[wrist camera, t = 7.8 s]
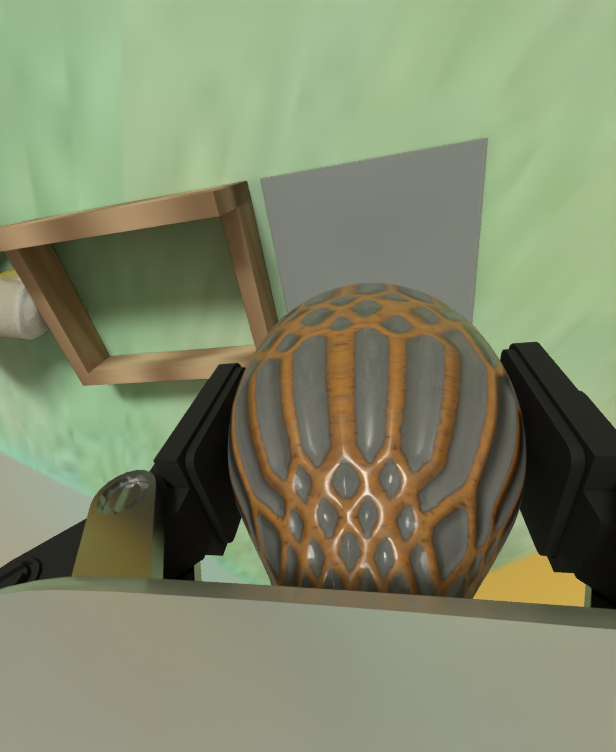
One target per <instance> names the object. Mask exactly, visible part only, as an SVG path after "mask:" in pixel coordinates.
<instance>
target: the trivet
mask: <svg viewBox="0 0 616 752" xmlns="http://www.w3.org/2000/svg"><path fill="white" fill-rule="evenodd" d="M487 143H488V138H481V139H476V140H470V141H465V142H459V143H453V144H448V145H442V146H437V147H431V148H426V149H420V150H415V151H409V152H404V153H398V154H393V155H387V156H382V157H376V158H371V159H365V160H360V161H354V162H349V163H343V164H338V165H332V166H326V167H321V168H315V169H310V170H304V171H299V172H293V173H288V174H282V175H277V176H271V177H266V178H262V179H260V181H261V186H262V190H263V195H264V200H265V205H266V210H267V215H268V220H269V225H270V230H271V235H272V240H273V244H274V249H275V254H276V259H277V264H278V269H279V274H280V279H281V284H282V289H283V294H284V298H285V303H286V308H287V313H289V312H291V311H292V310H293V309H295V308H296V307H297V306H299V305H300V304H302V303H303V302H305V301H307V300H309V299H310V298H312V297H314V296H316V295H319V294H321V293H323V292H326V291H329V290H332V289H335V288H338V287H343V286H347V285H352V284H360V283H386V284H394V285H399V286H404V287H408V288H411V289H415V290H418V291H420V292H423V293H426V294H428V295H430V296H432V297H434V298H436V299H438V300H440V301H442V302H443V303H445V304H446V305H448V306H450V307H451V308H453V309H454V310H456V311H457V312H458V313H460V314H461V315H462V316H463V317H465V318H466V319H467V320H468V321H469V322H470V323H471V324H472V318H473V306H474V295H475V283H476V271H477V260H478V248H479V236H480V225H481V213H482V201H483V190H484V178H485V166H486V155H487Z"/></svg>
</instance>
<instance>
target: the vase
mask: <svg viewBox="0 0 616 752" xmlns="http://www.w3.org/2000/svg"><path fill="white" fill-rule="evenodd" d="M228 465H229V474H230V481H231V486H232V490H233V494H234V497H235V501H236V504H237V507H238V509H239V512H240V514H241V517H242V519H243V522H244V524H245V526H246V529H247V531H248V533H249V535H250V538H251V540H252V542H253V544H254V546H255V549H256V551H257V553H258V555H259V557H260V559H261V561H262V563H263V565H264V567H265V570H266V572H267V574H268V576H269V579H270V581H271V585H272V586H285V587H300V588H316V589H331V590H347V591H362V592H377V593H392V594H407V595H422V596H436V597H450V598H465V599H473V597H474V595H475V594H476V592H477V590H478V588H479V587H480V585H481V583H482V582H483V580H484V578H485V577H486V575H487V573H488V572H489V570H490V568H491V566H492V565H493V563H494V561H495V559H496V558H497V556H498V554H499V552H500V550H501V549H502V547H503V545H504V543H505V541H506V539H507V537H508V535H509V533H510V531H511V529H512V527H513V525H514V523H515V520H516V517H517V515H518V512H519V509H520V506H521V502H522V498H523V492H524V486H525V479H526V440H525V432H524V425H523V419H522V413H521V409H520V406H519V402H518V399H517V395H516V392H515V390H514V387H513V385H512V382H511V380H510V378H509V376H508V374H507V372H506V370H505V369H504V367H503V365H502V363H501V361H500V360H499V358H498V357H497V355H496V354H495V352H494V351H493V349H492V348H491V346H490V345H489V343H488V342H487V341H486V340H485V339H484V337H483V336H482V335H481V334H480V333H479V332H478V330H477V329H476V328H475V327H474V326H473V325H472V324H471V323H470V322H469V321H468V320H467V319H466V318H465V317H463V316H462V315H461V314H460V313H458V312H457V311H456V310H454V309H453V308H451V307H450V306H448V305H446V304H445V303H443V302H442V301H440V300H438V299H436V298H434V297H432V296H430V295H428V294H426V293H423V292H420V291H418V290H415V289H411V288H408V287H404V286H399V285H394V284H386V283H360V284H352V285H347V286H343V287H338V288H335V289H332V290H329V291H326V292H323V293H321V294H319V295H316V296H314V297H312V298H310V299H309V300H307V301H305V302H303V303H302V304H300V305H299V306H297V307H296V308H295V309H293V310H292V311H291V312H289V313H288V314H287V315H285V316H284V317H283V318H282V319H281V320H280V321H279V322H278V323H277V324H276V325H275V326H274V327H273V328H272V329H271V330H270V332H269V333H268V334H267V335H266V337H265V338H264V339H263V341H262V342H261V343H260V345H259V346H258V348H257V349H256V351H255V353H254V354H253V356H252V358H251V359H250V361H249V363H248V365H247V367H246V369H245V371H244V373H243V375H242V377H241V380H240V382H239V385H238V388H237V391H236V394H235V398H234V402H233V406H232V411H231V417H230V424H229V435H228Z"/></svg>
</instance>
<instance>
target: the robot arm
mask: <svg viewBox="0 0 616 752" xmlns="http://www.w3.org/2000/svg"><path fill="white" fill-rule="evenodd" d="M500 361H501V363H502V365H503V367H504V369H505V370H506V372H507V374H508V376H509V378H510V380H511V382H512V385H513V387H514V390H515V392H516V395H517V399H518V402H519V406H520V409H521V413H522V419H523V425H524V432H525V440H526V479H525V486H524V492H523V498H522V502H521V506H520V511H521V513H522V516H523V518H524V521H525V523H526V525H527V528H528V530H529V533H530V535H531V538H532V540H533V543H534V545H535V547H536V550H537V552H538V553H539V554H540V555H542V556H547V557H548V559H549V562H550V564H551V566H552V569H553V571H554V572H563V573H574V574H575V576H576V578H577V579H579V580H580V581H582V582H583V583H585V584H586V587H585V602H584V607H577V606H563V605H562V606H561V605H549V604H533V603H521V602H507V601H493V600H479V599H465V598H450V597H436V596H422V595H407V594H392V593H377V592H362V591H347V590H331V589H316V588H300V587H285V586H269V585H253V584H236V583H219V582H203V581H201V563H200V561H201V560H203V559H204V557H205V555H218V556H223V554H224V551H225V549H226V546H227V543H231V542H232V541H233V540H234V538H235V535H236V532H237V529H238V526H239V523H240V520H241V514H240V512H239V509H238V507H237V504H236V501H235V497H234V494H233V490H232V486H231V481H230V474H229V465H228V435H229V424H230V417H231V411H232V406H233V402H234V398H235V394H236V391H237V388H238V385H239V382H240V380H241V377H242V375H243V373H244V371H245V369H246V368H245V367H241V365H240V364H239V363H228V364H219V365H218V366H217V368H216V369H215V371H214V372H213V374H212V375H211V376H210V378H209V379H208V381H207V382H206V384H205V385H204V387H203V388H202V390H201V391H200V393H199V394H198V396H197V397H196V399H195V400H194V401H193V403H192V404H191V406H190V407H189V409H188V410H187V412H186V413H185V415H184V416H183V418H182V419H181V421H180V422H179V424H178V425H177V426H176V428H175V429H174V431H173V432H172V434H171V435H170V437H169V438H168V440H167V441H166V443H165V444H164V446H163V447H162V449H161V450H160V451H159V453H158V454H157V456H156V457H155V459H154V460H153V461H154V463H155V464H154V466H153V467H152V469H151V470H150V472H149V471H146V470H134V471H130V472H126V473H124V474H122V475H119V476H117V477H116V478H114V479H112V480H111V481H109V482H108V483H107V484H106V485H104V486H103V487H102V488H101V489H100V490H99V491H98V493H97V494H96V495H95V496H94V498H93V500H92V502H91V505H90V508H89V512H88V516H87V518H86V519H85V520H83V521H81V522H79V523H78V524H76V525H74V526H73V527H70V528H69V529H67V530H65V531H63V532H61V533H60V534H58V535H56V536H54V537H53V538H51V539H49V540H47V541H46V542H44V543H42V544H40V545H38V546H37V547H35V548H33V549H32V550H30V551H28V552H26V553H24V554H22V555H21V556H19V557H17V558H15V559H14V560H12V561H10V562H9V563H7V564H6V565H4V566H3V567H1V568H0V752H616V429H615V428H614V427H613V426H612V424H611V423H610V422H609V421H608V420H607V419H606V417H605V416H604V415H603V414H602V413H601V411H600V410H599V409H598V408H597V407H596V406H595V404H594V403H593V402H592V401H591V400H590V399H589V397H588V396H587V395H586V394H585V393H583V392H582V391H579V390H578V389H577V388H576V387H575V386H574V384H573V383H572V382H571V381H570V380H569V378H568V377H567V376H566V375H565V374H564V372H563V371H562V370H561V369H560V368H559V366H558V365H557V364H556V363H555V362H554V361H553V359H552V358H551V357H550V356H549V355H548V353H547V352H546V351H545V350H544V349H543V347H542V346H541V345H540V344H539V343H538V342H527V343H512V344H511V345H510V347H509V349H505V350H503V351H502V353H501V359H500Z"/></svg>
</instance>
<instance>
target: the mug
mask: <svg viewBox="0 0 616 752" xmlns="http://www.w3.org/2000/svg"><path fill="white" fill-rule="evenodd" d="M48 329H49V327H48V325H47V323H46V322H45V320H44V318H43V317H42V315H41V313H40V312H39V310H38V308H37V306H36V305H35V303H34V301H33V300H32V298H31V296H30V295H29V293H28V291H27V290H26V288H25V286H24V284H23V283H22V281H21V279H20V278H19V276H18V274H17V273H16V271H15V269H12V270H7V271H4V272H2V273H0V336H1V337H11V338H19V339H26V340H31V339H35V338H37V337H39V336H41V335H42V334H44V333H45V332H46V331H47V330H48Z"/></svg>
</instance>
